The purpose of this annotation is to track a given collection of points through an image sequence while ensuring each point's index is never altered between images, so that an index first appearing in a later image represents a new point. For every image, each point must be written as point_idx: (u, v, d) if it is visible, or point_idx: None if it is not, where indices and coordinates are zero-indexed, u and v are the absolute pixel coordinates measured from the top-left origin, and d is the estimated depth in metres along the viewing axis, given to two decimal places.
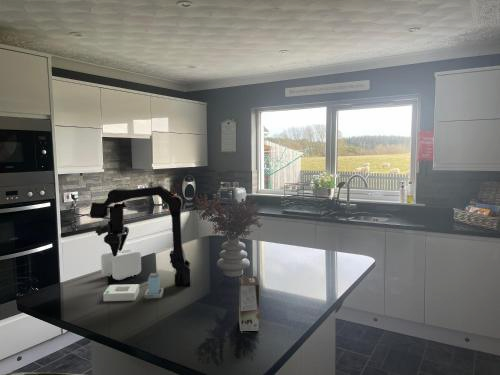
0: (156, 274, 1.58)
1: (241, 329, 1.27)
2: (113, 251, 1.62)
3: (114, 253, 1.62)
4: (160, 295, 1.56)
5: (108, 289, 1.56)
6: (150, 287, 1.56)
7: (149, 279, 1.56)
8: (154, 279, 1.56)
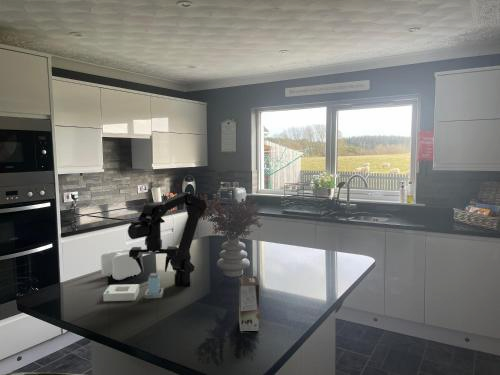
0: (156, 274, 1.58)
1: (241, 329, 1.27)
2: None
3: None
4: (160, 295, 1.56)
5: (108, 289, 1.56)
6: (150, 287, 1.56)
7: (149, 279, 1.56)
8: (154, 279, 1.56)
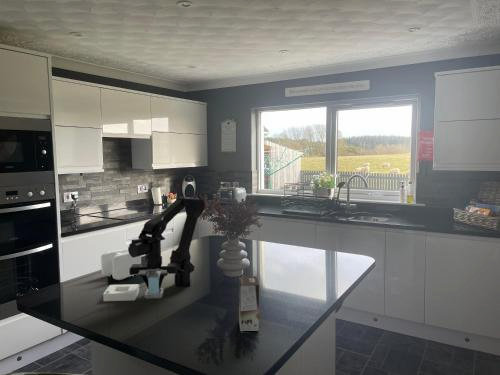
0: (156, 274, 1.58)
1: (241, 329, 1.27)
2: None
3: None
4: (160, 295, 1.56)
5: (108, 289, 1.56)
6: (150, 287, 1.56)
7: (149, 279, 1.56)
8: (154, 279, 1.56)
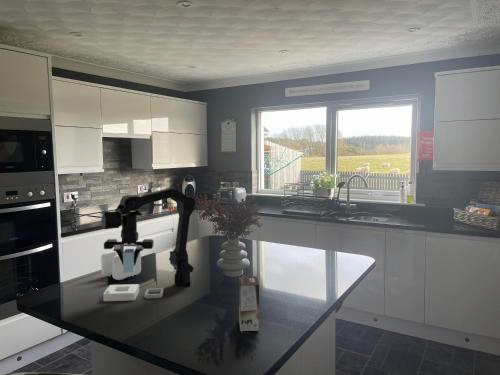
0: (131, 249, 1.56)
1: (241, 329, 1.27)
2: None
3: None
4: (160, 295, 1.56)
5: (108, 289, 1.56)
6: (125, 262, 1.54)
7: (124, 254, 1.53)
8: (129, 254, 1.54)
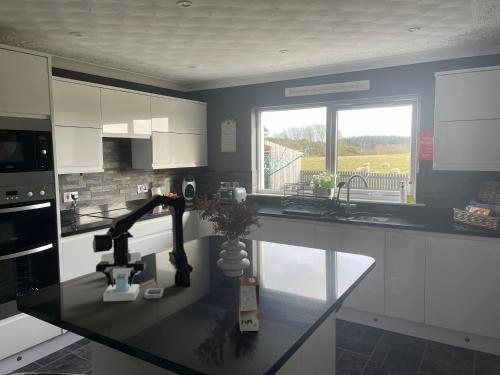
0: (124, 275, 1.57)
1: (241, 329, 1.27)
2: None
3: None
4: (160, 295, 1.56)
5: (108, 289, 1.56)
6: (117, 288, 1.55)
7: (116, 280, 1.55)
8: (121, 280, 1.55)
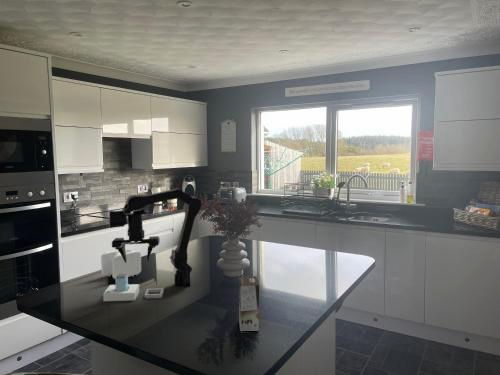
0: (123, 275, 1.57)
1: (241, 329, 1.27)
2: None
3: None
4: (160, 295, 1.56)
5: (108, 289, 1.56)
6: (117, 288, 1.55)
7: (116, 280, 1.55)
8: (121, 280, 1.55)
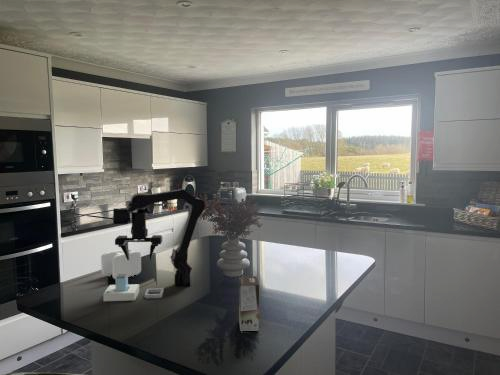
0: (124, 275, 1.57)
1: (241, 329, 1.27)
2: None
3: None
4: (160, 295, 1.56)
5: (108, 289, 1.56)
6: (117, 288, 1.55)
7: (116, 280, 1.55)
8: (121, 280, 1.55)
